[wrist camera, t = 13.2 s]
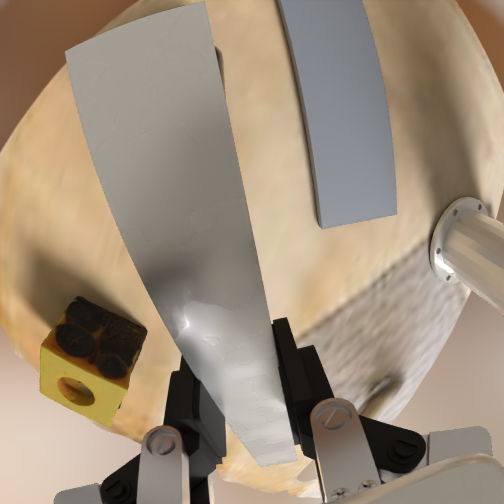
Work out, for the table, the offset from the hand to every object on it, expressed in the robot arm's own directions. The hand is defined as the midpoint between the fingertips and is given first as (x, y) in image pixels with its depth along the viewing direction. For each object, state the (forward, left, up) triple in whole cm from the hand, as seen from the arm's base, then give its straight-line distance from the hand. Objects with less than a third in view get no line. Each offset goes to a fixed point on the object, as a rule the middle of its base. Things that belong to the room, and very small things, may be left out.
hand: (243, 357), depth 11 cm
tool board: (-13, -12, -19) cm, 26 cm away
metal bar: (0, 0, -2) cm, 2 cm away
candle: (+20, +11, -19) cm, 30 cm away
